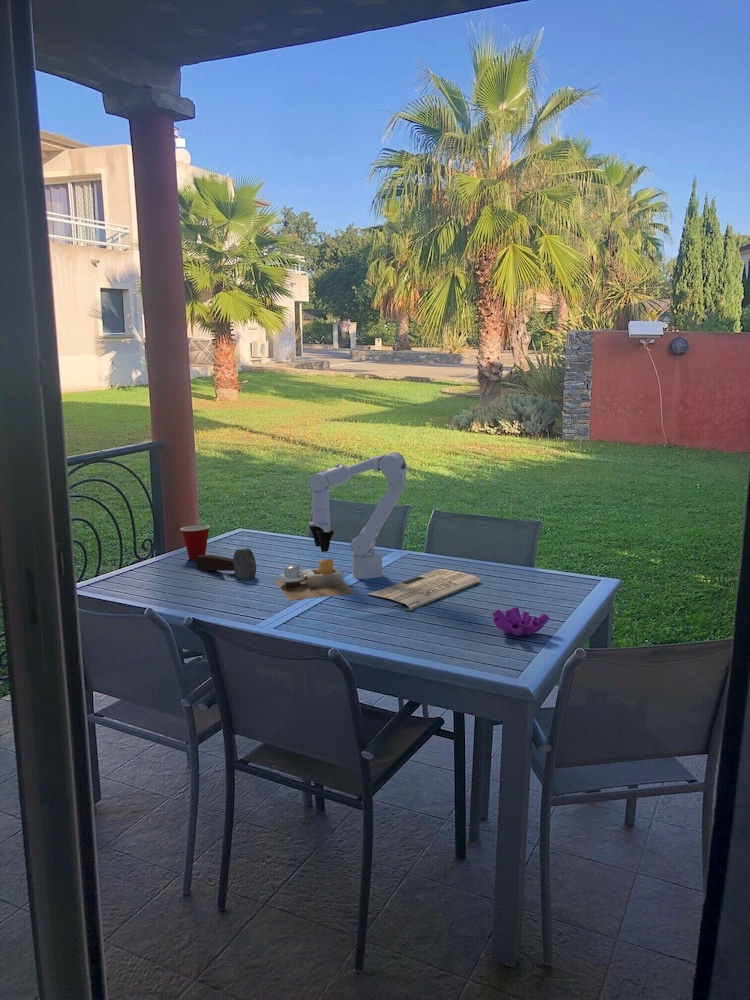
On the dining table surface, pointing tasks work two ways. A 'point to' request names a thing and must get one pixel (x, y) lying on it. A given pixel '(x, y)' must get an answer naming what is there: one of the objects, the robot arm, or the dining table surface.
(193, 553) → the plastic cup
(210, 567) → the hammer
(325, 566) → the tan rectangular prism
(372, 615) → the dining table surface
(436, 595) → the newspaper
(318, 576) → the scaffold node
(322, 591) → the board
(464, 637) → the dining table surface
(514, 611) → the purple coral
